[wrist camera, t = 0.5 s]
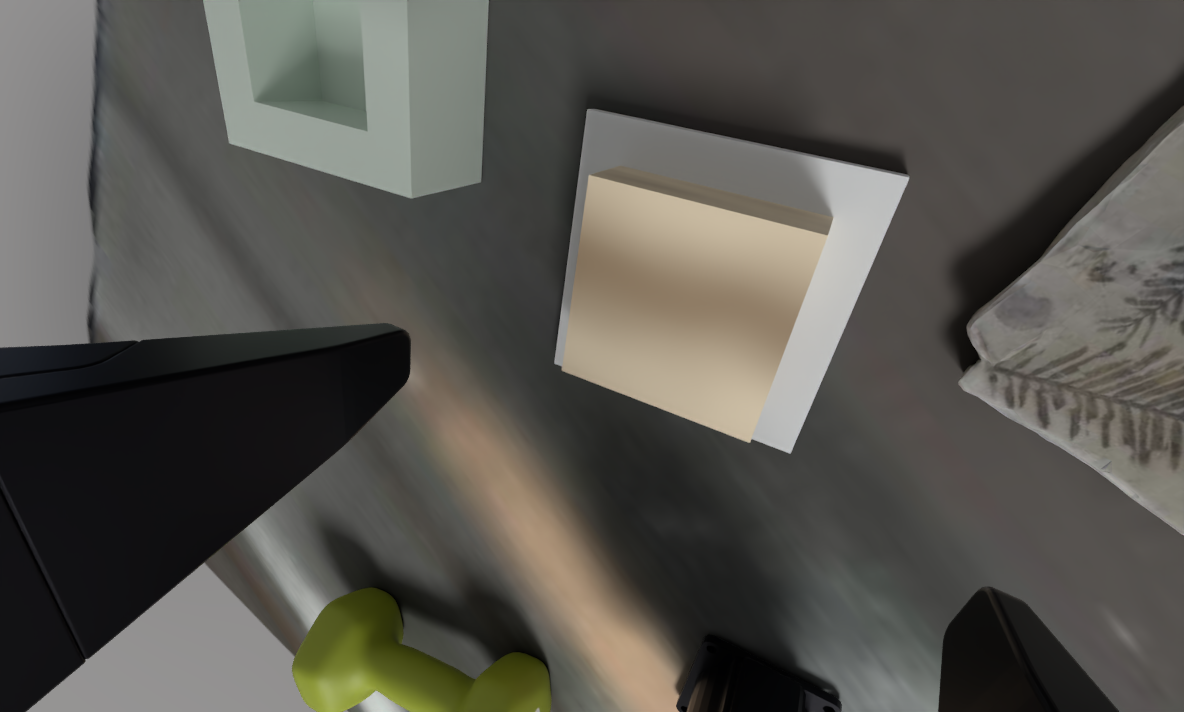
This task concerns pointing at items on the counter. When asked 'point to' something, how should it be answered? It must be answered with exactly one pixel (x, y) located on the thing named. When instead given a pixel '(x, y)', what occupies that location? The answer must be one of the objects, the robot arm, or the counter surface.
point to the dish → (357, 86)
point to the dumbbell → (403, 666)
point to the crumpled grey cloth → (1102, 332)
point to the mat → (776, 177)
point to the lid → (688, 294)
